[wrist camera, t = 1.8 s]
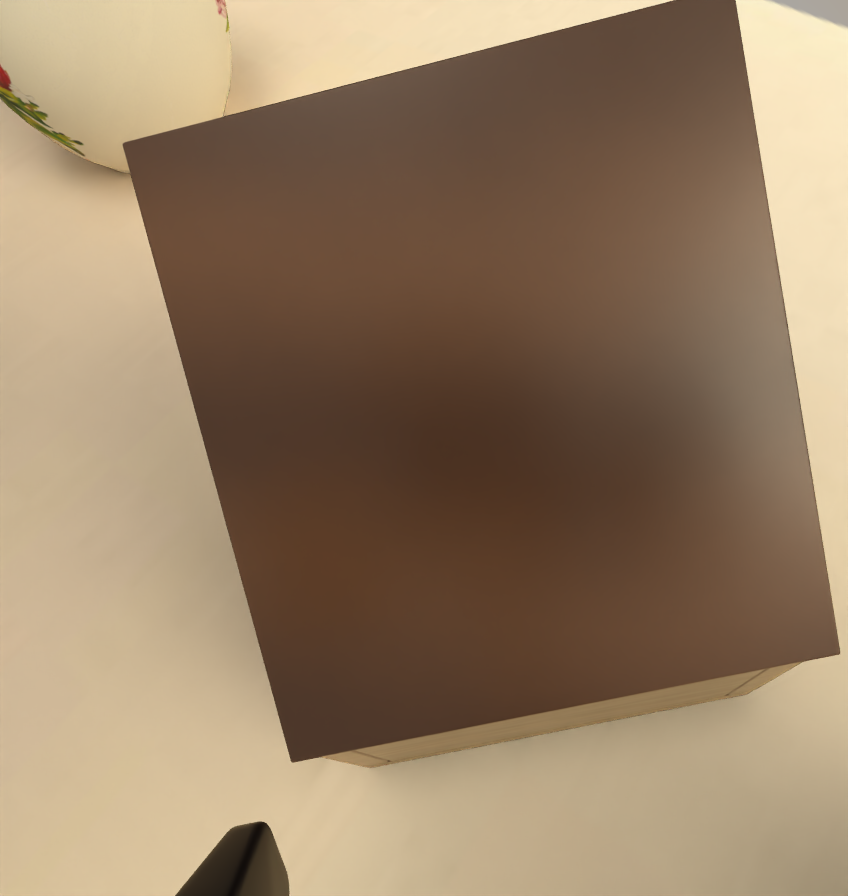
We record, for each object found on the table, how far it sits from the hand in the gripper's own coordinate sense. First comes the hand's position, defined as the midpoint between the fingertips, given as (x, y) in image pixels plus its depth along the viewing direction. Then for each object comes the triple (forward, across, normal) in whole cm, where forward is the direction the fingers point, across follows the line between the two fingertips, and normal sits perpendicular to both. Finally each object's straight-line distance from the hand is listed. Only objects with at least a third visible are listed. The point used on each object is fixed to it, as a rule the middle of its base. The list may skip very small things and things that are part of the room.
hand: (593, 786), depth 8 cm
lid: (+7, 0, -3) cm, 8 cm away
